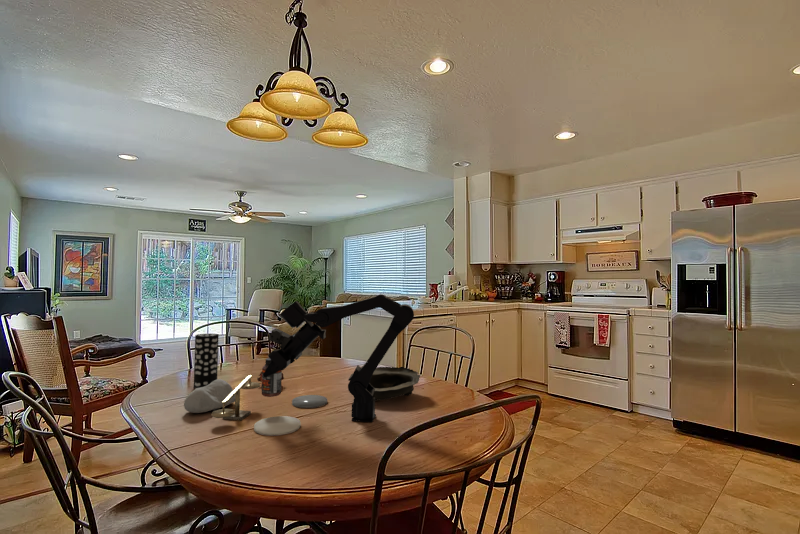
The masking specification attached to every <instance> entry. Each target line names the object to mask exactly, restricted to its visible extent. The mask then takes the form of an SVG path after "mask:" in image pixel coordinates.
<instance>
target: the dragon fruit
mask: <svg viewBox="0 0 800 534" xmlns="http://www.w3.org/2000/svg"><path fill="white" fill-rule="evenodd" d="M284 379H285V377H284V374H283V372H282V381H283V380H284ZM257 382H259V383H260V382H261V383H262V371H261V372H260V373H259V374H258V377H257Z"/></svg>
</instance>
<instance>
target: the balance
mask: <svg viewBox="0 0 800 534" xmlns="http://www.w3.org/2000/svg"><path fill="white" fill-rule="evenodd" d="M252 377H253V376H252V375H251V374H250V375H248V376H246V377H245V379H243V380H242V381H241V382H240V383H239V384H238V386H236V387H235V388H234V389H233V391H232V392H231V393H230V394H229V395H228V396H227V397H226V398H225V399H224V400H223V401H222V404H223V407H222V409H220V408H219V409H215V410H212V412H211V417H212V418H214V419H222V420H226V421H227V420H231V421H240V422H241V421H242V420H244V419H246V418H247V417H249V416H251V414H252V411H251V410H242V409H240V407H241V405H240V403H241V402H240V401H241V389H243V390H255V389H258V388H260V387H261V383H260V382H258V381H257V382H256V381H254V382H253V381H252V379H253V378H252ZM234 395H235V402H234V409H232V408H226V406H227V405H226V404H227V403H228V401H229V400H230V399H231V398H232V397H233V396H234ZM225 405H226V406H225Z"/></svg>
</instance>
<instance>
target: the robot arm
mask: <svg viewBox="0 0 800 534" xmlns="http://www.w3.org/2000/svg"><path fill="white" fill-rule="evenodd" d="M375 309H382V310H384V311H386V312H387V313H388V314H390V315H391V316H393V317H392V319H391V322H390V324H389V326H388V328H387V330H386V331H385V332H384V333H383V336H382V337H381V339H380V340H379V342H378V343H377V345H376V347H375V348H374V350H373V351H372V353H371V354H370V355H369V357H368V359H367V360H366V362H365V363H364V364H363V365H362V366H360V365H359V364H357V366H356V367H355V368H354V371H353V373H352V374H350V376H349V378H348V379H347V381H349V382H348V384H347V389H348V392H349V393H350V395H352V396H353V402H352V403H351V415H350V416H351V421H352V422H365V423H373V422H374V420H375V418H376V417H377V414H376V412H375V411H376V401H375V398H373V394H374V391H375V388H374V387H373V386H372V385H371V384H370V383H369V382H370V380H371V377H372V375H373V373H374V371H375V369H376V368H378V367H379V365H380V363H381V362H382V360H383V359H384V357H385V356H386V354H387V353H388V351H389V349H390V348H391V346H392V345H393V343H395V342H394V341H396V339H397V338H398V336H399V335H400V333H402V332H403V331H404V330H405V329H406V328H407V327H408V326H409V325H410V323H412V321H413V320H414V317H415V312H414V309H413V307H412V306H411V305H409V304H401V303H399V302H397V301H395V300H393V299H391V298H390V297H388V296H386V295H385V294H384V293H383V294H381V293H380V294H377V295H376V296H372V297H369V298H365V299H362V300H359V301H354V302H353V303H352V302H351V303H348V304H345V305H337V306H326V307H322V308H319V309H317V310H316V311H314V312H313V311H310V312H308V311H307V310H306V309H304V307H303V306H302V305H301V303H300V302H299V301H294V302H293V303H291V304H290V305H289V306H288V307H286V308H285V309H283V310H282V312H281V313H280V315H279V316H280V317H281V318H282V319H283V320H284V321H285V322H286V323H287V324H288V325H289V326H290V327H291V328H292V329H294V328H296V329H298V330H297V331H296V332H295V333H293V334H289V333H287V332H285V331H283V330H281V329H279V328H273V329H272V330H271V332H269V334H268V341H270V342H273V343H276V344H277V345H279V347H278V348H275V349H273V350H272V351H271V352H270V353H269V354H268V355H267V358H270V359H271V362H270V364H269V366H268V367H267V369H266V370H265V372H264V373H263V376H264V377H267V376H269V375H272V374H274V373H276V372H279V371H281V370H282V371H284V370H285V369H286V368H287V367H289V366H290V365H291V364H293V363H294V362H295V360H296V361H297V360H298V359H300V358H301V357H302V355H303V352H304V351H305V350H306V349H308V348H309V346H310V345H311V344H312V343H314V341H315V340H317V338H318V337H319V338H320V339H322V340H324V339H325V338H326V337H327V336H326V332H327V329H322V328H327V327H328V326H331V325H332V324H334V323H337V322H339V321H341V320H343V319H344V318H347V317H351V316H354V315H355V316H356V315H358V314H361V313H365V312H368V311H372V310H375Z"/></svg>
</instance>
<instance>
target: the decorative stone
mask: <svg viewBox="0 0 800 534" xmlns="http://www.w3.org/2000/svg"><path fill="white" fill-rule="evenodd" d="M233 390H234V389H233V387H232V385H231V384H230V383H228V381H226V380H224V379H222V378H217V380H214V381H213V382H212V383H210V384H209V385H207V386H204V387H200V388H194V390H193V391H191V392H190V393H189V394H188V395H187V396H186V398H185V399H184V401H183V402H184V403H183V407H184V410H185V411H187V412H189V413H192V414H201V413H207V412H211V411H216V410H219V409H220V408H223V404H222V401H223V400H224V399H225V398H226V397H227V396H228V395H229V394H230V393H231V392H232V391H233ZM233 403H235V395H234V396H233V397H232V398H231V399H230V400H229V401H228V403H227V404H226V405H225V407H227V406H229V405H231V404H233Z"/></svg>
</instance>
